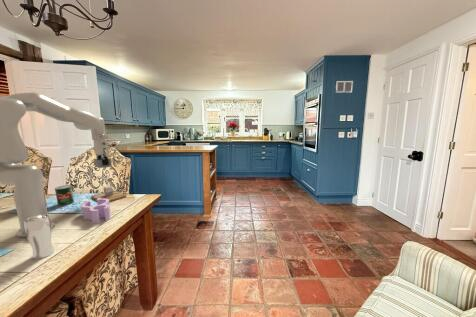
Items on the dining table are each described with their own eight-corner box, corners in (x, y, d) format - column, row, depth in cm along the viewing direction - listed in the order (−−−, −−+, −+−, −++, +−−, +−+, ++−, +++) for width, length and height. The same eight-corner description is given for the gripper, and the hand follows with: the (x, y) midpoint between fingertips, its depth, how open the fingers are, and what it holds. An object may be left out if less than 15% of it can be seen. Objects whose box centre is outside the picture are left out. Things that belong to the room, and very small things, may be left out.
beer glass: (60, 248, 81) (54, 213, 78) (44, 259, 74) (37, 222, 71) (42, 248, 81) (35, 213, 78) (25, 260, 74) (16, 222, 71)
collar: (111, 165, 132) (110, 158, 131) (99, 167, 127) (98, 160, 126) (106, 164, 136) (105, 157, 135) (95, 166, 130) (93, 159, 129)
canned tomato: (70, 200, 132) (67, 184, 130) (76, 202, 128) (74, 185, 126) (55, 204, 125) (52, 188, 123) (61, 207, 121) (58, 189, 119)
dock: (126, 196, 137) (125, 186, 135) (103, 203, 125) (102, 192, 124) (113, 192, 147) (112, 182, 145) (91, 198, 135) (90, 187, 134)
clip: (116, 217, 107) (115, 205, 106) (88, 226, 98) (86, 213, 97) (106, 207, 121) (105, 196, 119) (80, 214, 112) (78, 202, 110)
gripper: (112, 137, 126) (115, 164, 129) (99, 136, 135) (103, 162, 139) (98, 138, 120) (103, 167, 123) (86, 137, 129) (90, 164, 133)
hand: (103, 164), depth 131 cm, fingers closed on collar, 7 cm apart
